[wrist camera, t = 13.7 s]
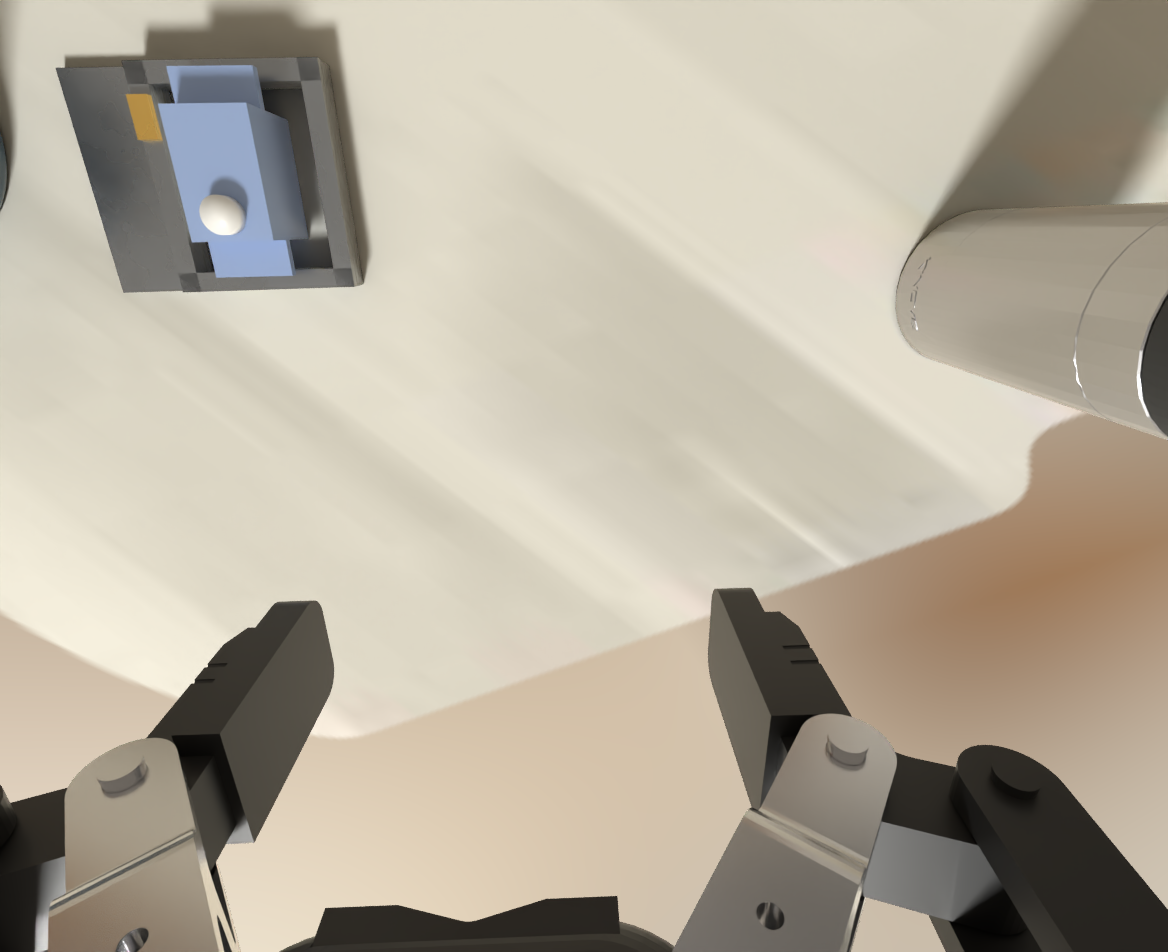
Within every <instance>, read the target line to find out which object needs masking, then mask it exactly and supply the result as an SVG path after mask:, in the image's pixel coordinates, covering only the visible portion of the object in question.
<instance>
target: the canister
mask: <svg viewBox="0 0 1168 952" xmlns="http://www.w3.org/2000/svg"><path fill="white" fill-rule="evenodd" d="M6 181H7V164H6V155H5V149H4V144H3V140H2V136H1V133H0V208H1V205H2V203H3V199H4V195H5V190H6Z"/></svg>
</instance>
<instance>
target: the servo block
mask: <svg viewBox="0 0 1168 952" xmlns="http://www.w3.org/2000/svg"><path fill="white" fill-rule="evenodd" d="M166 67H167V72H168V76H169V80H170V84H171V88H172V93H173V97H174V101H175V103H171V104H158V107H159V111H160V115H161V119H162V123H163V127H164V131H165V135H166V139H167V143H168V147H169V151H170V155H171V159H172V163H173V167H174V172H175V176H176V180H177V184H178V188H179V192H180V196H181V200H182V204H183V208H184V212H185V216H186V220H187V224H188V228H189V232H190V236H191V240H192V242H208V244H209V249H210V253H211V257H212V261H213V265H214V270H215V274H216V278H224V277H264V276H294V275H296V272H295V266H294V261H293V256H292V251H291V245H290V240H295V239H309V237H308V231H307V226H306V220H305V215H304V209H303V203H302V198H301V192H300V187H299V181H298V175H297V170H296V164H295V159H294V153H293V148H292V142H291V136H290V131H289V125H288V120H287V119H284V118H282V117H279V116H277V115H275V114H272V113H270V112H268V111H265V108H264V103H263V98H262V93H261V87H260V82H259V77H258V71H257V68H256V67H255V66H253V65H221V66H166Z"/></svg>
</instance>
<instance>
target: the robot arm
mask: <svg viewBox="0 0 1168 952" xmlns="http://www.w3.org/2000/svg"><path fill="white" fill-rule="evenodd" d="M896 314H897V321H898V324H899V327H900V329H901V332H902V334H903V336H904V338H905V339H906V340H907V342H908V343H909V344H910V346H911V347H912V348H914V349H915V350H916V351H917V352H919V353H920V354H921V355H923V356H926V357H928V358H930V359H932V360H935V361H938V362H941V363H944V364H946V365H949V366H952V367H955V368H958V369H961V370H964V371H966V372H969V373H972V374H975V375H977V376H980V377H983V378H986V379H989V380H992V381H995V382H998V383H1001V384H1004V385H1007V386H1010V387H1013V388H1015V389H1018V390H1021V391H1024V392H1027V393H1030V394H1033V395H1036V396H1039V397H1042V398H1045V399H1048V400H1051V401H1053V402H1056V403H1059V404H1062V405H1065V406H1068V407H1071V408H1074V409H1077V410H1080V411H1083V412H1086V413H1089V414H1091V415H1094V416H1097V417H1100V418H1103V419H1106V420H1109V421H1112V422H1115V423H1118V424H1122V425H1125V426H1128V427H1130V428H1133V429H1136V430H1139V431H1142V432H1145V433H1148V434H1151V435H1154V436H1157V437H1160V438H1163V439H1165V440H1168V202H1163V203H1138V204H1113V205H1088V206H1063V207H1038V208H1035V207H1031V208H1010V209H988V210H975V211H971V212H967V213H963V214H960V215H958V216H956V217H954V218H952V219H949V220H947V221H945V222H944V223H943V224H941V225H940V226H938V227H937V228H936V229H934V230H933V231H931V232H930V233H929V234H928V235H927V236H926V238H925V239H924V240H923V241H922V242H921V243H920V244H919V245H918V246H917V248H916V249H915V250H914V252H913V253H912V255H911V256H910V258H909V259H908V261H907V263H906V265H905V268H904V270H903V272H902V274H901V277H900V280H899V284H898V288H897V293H896ZM809 646H810V645H809V643H808V641H807V640H806V638H805V636H804V635H803V633H802V631H801V629H800V628H799V626H797V625H796V624H795V623H793V622H792V621H791V620H790V619H788V618H787V617H786V616H785V615H783V614H782V613H781V612H764V610H763V608H762V606H761V604H760V602H759V600H758V598H757V596H756V595H755V593H754V591H753V589H752V588H729V589H714V591H713V594H712V603H711V617H710V632H709V646H708V663H709V672H710V678H711V682H712V685H713V688H714V692H715V695H716V697H717V701H718V704H719V707H720V710H721V713H722V716H723V720H724V723H725V726H726V729H727V732H728V735H729V738H730V741H731V744H732V747H733V750H734V753H735V756H736V759H737V763H738V766H739V769H740V772H741V775H742V778H743V781H744V785H745V788H746V791H747V794H748V797H749V800H750V803H751V806H752V808H750V809H749V810H748V811H747V812H746V813H745V815H744V816H743V818H742V820H741V822H740V824H739V826H738V827H737V829H736V831H735V833H734V835H733V837H732V839H731V841H730V843H729V845H728V847H727V848H726V850H725V852H724V854H723V856H722V858H721V860H720V862H719V863H718V865H717V867H716V869H715V871H714V873H713V875H712V877H711V879H710V880H709V882H708V884H707V886H706V888H705V890H704V892H703V894H702V896H701V898H700V899H699V901H698V903H697V905H696V907H695V909H694V911H693V913H692V915H691V917H690V919H689V920H688V922H687V924H686V926H685V928H684V930H683V932H682V934H681V936H680V937H679V939H678V941H677V943H676V945H675V947H674V946H673V945H671V944H670V943H669V942H667V941H665V940H664V939H662V938H660V937H658V936H656V935H654V934H653V933H651V932H648V931H646V930H644V929H641V928H639V927H636V926H634V925H630V924H626V923H623V922H619V913H618V900H617V896H610V897H609V896H608V897H584V898H559V899H545V900H541V901H538V902H535V903H532V904H529V905H526V906H522V907H519V908H516V909H512V910H509V911H506V912H503V913H500V914H496V915H493V916H490V917H487V918H484V919H480V920H477V921H472V922H464V921H459V920H455V919H451V918H447V917H443V916H439V915H435V914H431V913H427V912H423V911H419V910H415V909H411V908H407V907H403V906H399V905H392V906H390V905H389V906H365V907H342V908H325V911H324V914H323V916H322V919H321V923H320V925H319V928H318V931H317V934H316V936H315V937H312V938H309V939H306V940H303V941H301V942H299V943H296V944H294V945H292V946H289V947H287V948H286V949H284V950H282V951H280V952H851V950H852V946H853V942H854V939H855V935H856V932H857V928H858V924H859V921H860V917H861V914H862V911H863V907H864V904H865V900H866V897H867V898H871V899H874V900H878V901H881V902H885V903H889V904H892V905H895V906H899V907H903V908H906V909H910V910H913V911H917V912H920V913H924V914H927V915H929V917H930V919H931V921H932V923H933V926H934V927H935V930H936V932H937V934H938V936H939V938H940V940H941V942H942V945H943V947H944V949H945V951H946V952H1168V909H1167V908H1166V907H1165V906H1164V904H1163V903H1162V902H1161V901H1160V900H1159V898H1158V897H1157V896H1156V895H1155V894H1154V892H1153V891H1152V890H1151V889H1150V888H1149V886H1148V885H1147V884H1146V883H1145V881H1144V880H1143V879H1142V878H1141V877H1140V876H1139V874H1138V873H1137V872H1136V871H1135V869H1134V868H1133V867H1132V866H1131V865H1130V863H1129V862H1128V861H1127V860H1126V859H1125V857H1124V856H1123V855H1122V854H1121V853H1120V851H1119V850H1118V849H1117V848H1116V846H1115V845H1114V844H1113V843H1112V842H1111V840H1110V839H1109V838H1108V837H1107V836H1106V834H1105V833H1104V832H1103V831H1102V830H1101V828H1100V827H1099V826H1098V825H1097V824H1096V823H1095V821H1094V820H1093V819H1092V818H1091V816H1090V815H1089V814H1088V813H1087V811H1086V810H1085V809H1084V808H1083V807H1082V805H1081V804H1080V803H1079V802H1078V801H1077V799H1076V798H1075V797H1074V796H1073V795H1072V793H1071V792H1070V791H1069V790H1068V788H1067V787H1066V786H1065V785H1064V784H1063V783H1062V781H1061V780H1060V779H1059V778H1058V777H1057V776H1056V775H1055V774H1053V773H1052V772H1051V771H1050V770H1049V769H1047V768H1046V767H1044V766H1043V765H1041V764H1040V763H1038V762H1037V761H1035V760H1033V759H1031V758H1030V757H1028V756H1025V755H1024V754H1021V753H1019V752H1016V751H1013V750H1010V749H1007V748H1004V747H999V746H993V745H977V746H973V747H970V748H968V749H966V750H964V751H963V752H962V753H961V754H960V756H959V758H958V761H957V765H956V767H953V766H948V765H943V764H938V763H934V762H929V761H924V760H920V759H915V758H911V757H908V756H904V755H901V754H899V753H896V752H895V751H894V749H893V747H892V745H891V744H890V742H889V741H888V740H887V739H886V738H885V737H884V736H883V735H882V734H881V733H880V732H879V731H877V730H876V729H875V728H874V727H872V726H870V725H869V724H867V723H865V722H863V721H861V720H859V719H856V718H853V717H852V716H851V714H850V713H849V711H848V709H847V707H846V706H845V704H844V703H843V701H842V699H841V697H840V696H839V694H838V692H837V691H836V689H835V687H834V685H833V684H832V682H831V680H830V679H829V677H828V676H827V674H826V672H825V670H824V668H823V667H822V665H821V664H819V662H818V658H817V657H816V655H815V653H814V651H813V650H812V649H811V648H810V647H809ZM333 679H334V663H333V658H332V653H331V649H330V644H329V639H328V635H327V630H326V625H325V620H324V616H323V611H322V608H321V606H320V604H319V603H318V602H317V601H289V602H277V603H275V604H274V605H273V606H272V607H271V608H270V610H269V611H268V612H267V614H266V615H265V616H264V617H263V619H262V620H261V621H260V623H259V624H258V625H257V626H256V628H247V629H246V630H244V631H243V632H241V633H240V634H238V635H237V636H235V637H234V638H233V639H231V640H230V641H228V642H227V643H225V644H224V645H223V646H222V647H221V649H220V650H219V651H218V652H217V653H216V655H215V656H214V657H213V658H212V659H211V661H210V662H209V663H208V667H207V668H204V669H203V670H202V671H201V673H200V674H199V675H198V676H197V678H196V679H195V683H194V684H191V685H190V686H189V687H188V688H187V690H186V691H185V692H184V693H183V694H182V696H181V697H180V698H179V699H178V701H177V702H176V703H175V704H174V705H173V707H172V708H171V709H170V710H169V711H168V713H167V714H166V715H165V716H164V718H163V719H162V720H161V721H160V723H159V724H158V725H157V726H156V727H155V728H154V730H153V731H152V732H151V733H150V734H149V736H148V737H147V738H146V739H140V740H136V741H132V742H129V743H126V744H123V745H121V746H118V747H116V748H114V749H112V750H110V751H108V752H106V753H104V754H103V755H101V756H99V757H98V758H96V759H95V760H93V761H92V762H91V763H89V764H88V765H87V766H86V767H84V768H83V769H82V770H81V771H80V772H79V773H78V774H77V775H76V777H75V778H74V779H73V780H72V782H71V783H70V785H69V786H68V788H65V789H61V790H57V791H54V792H50V793H46V794H42V795H39V796H35V797H31V798H28V799H24V800H20V801H17V802H12V803H10V802H9V800H8V798H7V796H6V794H5V792H4V790H3V788H2V786H1V785H0V952H241V951H240V947H239V943H238V939H237V935H236V931H235V927H234V923H233V919H232V916H231V912H230V908H229V904H228V900H227V896H226V892H225V889H224V884H223V880H222V877H221V873H220V870H219V867H218V864H217V859H218V857H219V855H220V854H221V852H222V850H223V848H224V846H225V844H236V843H254V842H255V840H256V838H257V836H258V834H259V832H260V830H261V828H262V826H263V824H264V822H265V820H266V819H267V817H268V815H269V813H270V811H271V809H272V807H273V805H274V803H275V801H276V799H277V797H278V795H279V793H280V791H281V789H282V787H283V785H284V783H285V781H286V779H287V777H288V775H289V773H290V771H291V769H292V767H293V765H294V764H295V762H296V760H297V757H298V756H299V754H300V752H301V750H302V748H303V746H304V744H305V742H306V740H307V738H308V736H309V734H310V732H311V730H312V728H313V726H314V724H315V722H316V720H317V718H318V716H319V714H320V713H321V711H322V709H323V707H324V705H325V703H326V701H327V699H328V697H329V695H330V692H331V689H332V685H333Z"/></svg>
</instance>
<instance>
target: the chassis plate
mask: <svg viewBox="0 0 1168 952" xmlns="http://www.w3.org/2000/svg"><path fill="white" fill-rule="evenodd" d="M121 61H122V65H123V67H76V68H56V71H57V74H58V77H59V81H60V84H61V87H62V91H63V94H64V97H65V101H66V104H67V107H68V110H69V114H70V117H71V120H72V124H73V127H74V130H75V134H76V137H77V140H78V144H79V147H80V150H81V153H82V157H83V160H84V163H85V167H86V170H87V173H88V177H89V180H90V183H91V187H92V190H93V193H94V197H95V200H96V203H97V206H98V210H99V213H100V216H101V220H102V223H103V226H104V230H105V233H106V236H107V240H108V243H109V246H110V249H111V253H112V256H113V259H114V263H115V266H116V269H117V273H118V276H119V279H120V283H121V286H122V289H123V292H124V293H126V292H156V291H183V292H207V291H237V290H267V289H298V288H328V287H355V286H358V285H361V284H363V278H362V272H361V266H360V259H359V253H358V247H357V240H356V234H355V228H354V221H353V215H352V209H351V202H350V196H349V189H348V183H347V177H346V170H345V164H344V158H343V151H342V145H341V139H340V132H339V126H338V120H337V113H336V107H335V101H334V94H333V88H332V82H331V75H330V69H329V65H327V64H326V63H324V62H323V61H322V60H320V59H319V58H318V57H291V58H234V59H177V60H121ZM221 65H253V66H255V67H256V68H257V71H258V77H259V82H260V87H261V89H302V91H303V96H304V102H305V108H306V114H307V119H308V125H309V131H310V137H311V142H312V148H313V154H314V160H315V165H316V171H317V177H318V183H319V188H320V194H321V200H322V206H323V211H324V217H325V223H326V229H327V234H328V240H329V246H330V252H331V257H332V263H333V267H319V268H295V272H296V275H294V276H264V277H224V278H216V274H215V271H213V269H212V265H211V261H210V257H209V253H208V249H207V244H206V242H192V240H191V236H190V232H189V228H188V224H187V220H186V216H185V212H184V208H183V204H182V200H181V196H180V192H179V188H178V184H177V180H176V176H175V172H174V167H173V163H172V159H171V155H170V151H169V147H168V143H167V139H166V135H165V131H164V127H163V123H162V119H161V115H160V111H159V107H158V104H171V103H172V102H171V98H170V94H169V91H172V88H171V84H170V80H169V76H168V72H167V67H166V66H221Z"/></svg>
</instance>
